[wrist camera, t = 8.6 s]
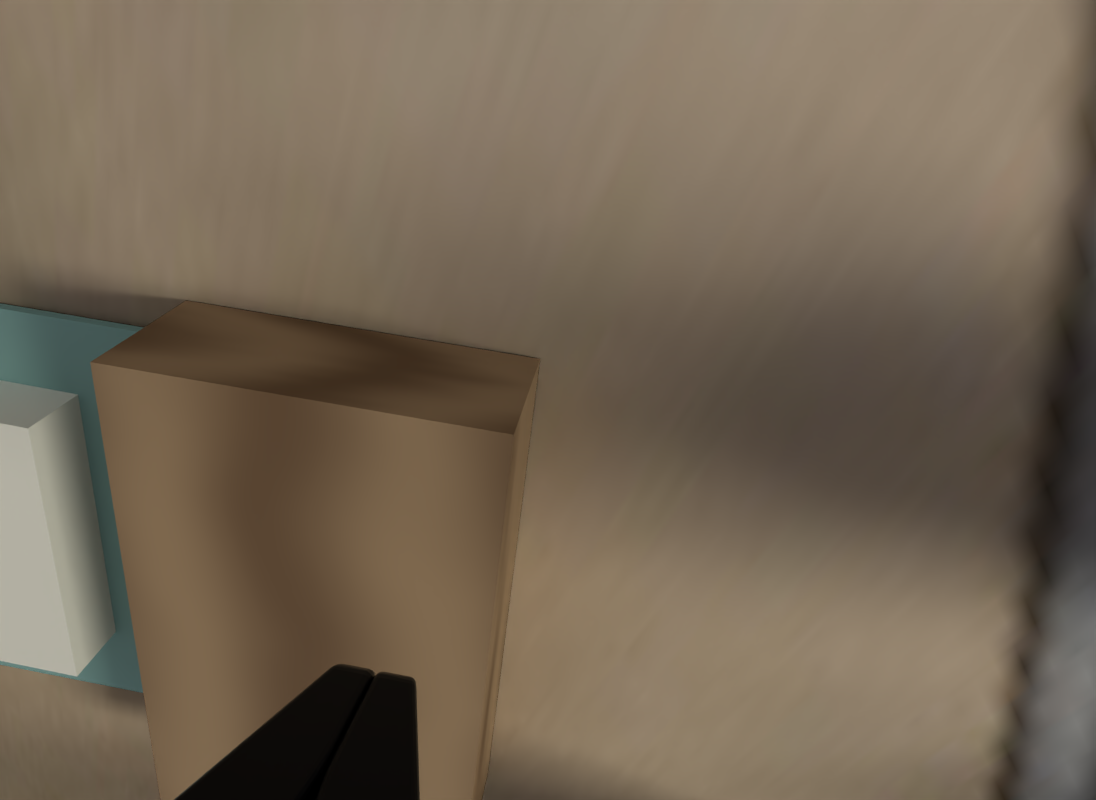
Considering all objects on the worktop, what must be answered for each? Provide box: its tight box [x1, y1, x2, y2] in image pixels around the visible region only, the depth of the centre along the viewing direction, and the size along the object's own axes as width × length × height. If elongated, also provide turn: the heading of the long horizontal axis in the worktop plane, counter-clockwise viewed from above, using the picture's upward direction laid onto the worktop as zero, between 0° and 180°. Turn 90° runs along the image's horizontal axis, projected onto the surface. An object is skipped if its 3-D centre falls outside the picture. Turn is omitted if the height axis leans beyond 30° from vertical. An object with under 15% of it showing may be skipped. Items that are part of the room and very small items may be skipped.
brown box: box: [90, 301, 540, 800], centre depth 23 cm, size 10×16×4 cm, turn 173°
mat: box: [0, 303, 144, 693], centre depth 25 cm, size 9×14×1 cm, turn 173°
